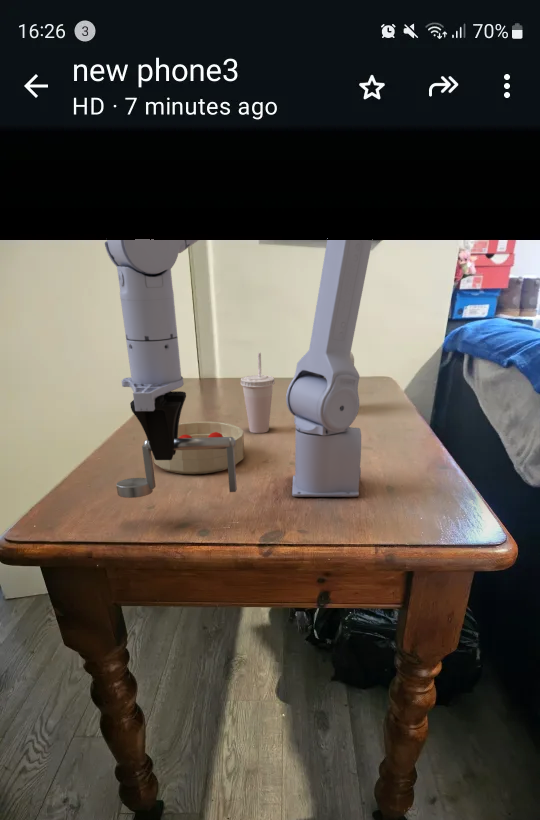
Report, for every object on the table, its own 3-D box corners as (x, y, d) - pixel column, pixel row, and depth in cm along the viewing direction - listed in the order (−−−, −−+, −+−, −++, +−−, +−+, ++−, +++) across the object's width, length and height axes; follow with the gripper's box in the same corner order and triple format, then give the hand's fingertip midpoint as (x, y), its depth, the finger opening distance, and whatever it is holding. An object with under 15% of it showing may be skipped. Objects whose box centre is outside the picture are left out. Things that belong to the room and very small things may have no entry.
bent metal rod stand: (113, 498, 72) (104, 444, 69) (123, 488, 76) (115, 436, 73) (236, 495, 71) (233, 440, 68) (240, 486, 75) (237, 433, 72)
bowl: (247, 446, 104) (246, 421, 102) (239, 475, 92) (238, 447, 89) (164, 446, 105) (161, 421, 103) (144, 475, 92) (140, 447, 90)
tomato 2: (220, 455, 101) (227, 445, 102) (219, 441, 98) (227, 431, 100) (204, 450, 101) (212, 440, 103) (203, 436, 99) (211, 426, 100)
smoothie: (281, 431, 112) (281, 353, 105) (254, 437, 109) (251, 357, 102) (263, 424, 117) (261, 349, 110) (236, 429, 114) (232, 353, 107)
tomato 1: (198, 448, 101) (193, 431, 100) (194, 452, 98) (188, 434, 97) (183, 452, 102) (177, 435, 101) (178, 456, 99) (172, 438, 98)
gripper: (132, 329, 71) (147, 439, 78) (97, 348, 59) (118, 476, 66) (189, 328, 71) (198, 439, 78) (165, 347, 59) (179, 476, 66)
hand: (165, 456), depth 72 cm, fingers closed on bent metal rod stand
